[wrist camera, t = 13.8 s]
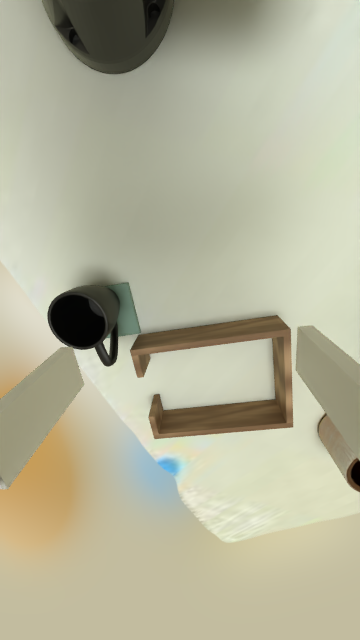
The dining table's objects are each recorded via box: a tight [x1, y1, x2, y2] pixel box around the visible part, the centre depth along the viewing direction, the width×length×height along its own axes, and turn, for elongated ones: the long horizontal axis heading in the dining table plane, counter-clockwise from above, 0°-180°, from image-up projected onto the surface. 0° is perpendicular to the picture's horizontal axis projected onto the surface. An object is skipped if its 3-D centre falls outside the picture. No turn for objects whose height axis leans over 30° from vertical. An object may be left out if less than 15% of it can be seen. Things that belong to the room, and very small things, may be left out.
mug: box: [48, 285, 120, 366], centre depth 36 cm, size 8×12×10 cm
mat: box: [105, 283, 141, 338], centre depth 41 cm, size 9×9×1 cm
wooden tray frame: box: [130, 315, 293, 439], centre depth 41 cm, size 18×24×6 cm
